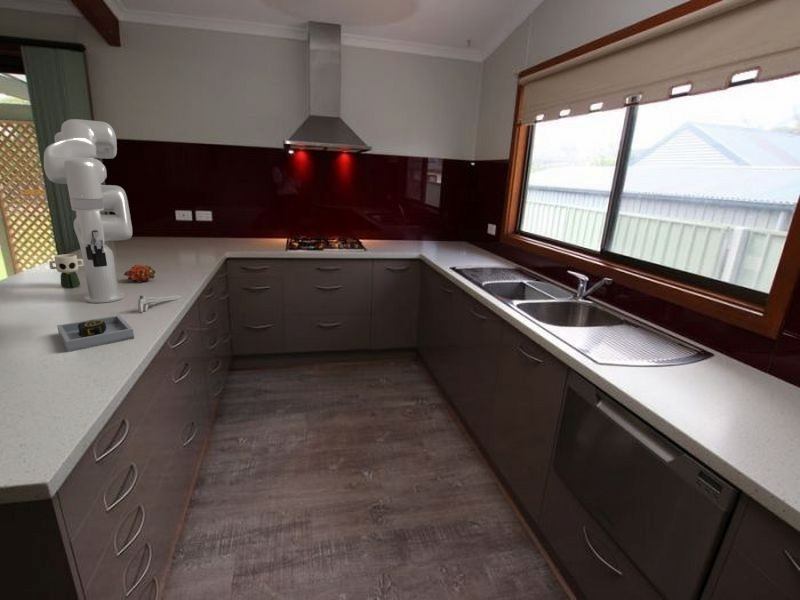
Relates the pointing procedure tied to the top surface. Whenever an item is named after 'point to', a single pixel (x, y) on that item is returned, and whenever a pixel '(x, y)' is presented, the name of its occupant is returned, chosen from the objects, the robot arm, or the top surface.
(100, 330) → the tape measure
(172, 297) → the caliper
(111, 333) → the parts tray
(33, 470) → the top surface
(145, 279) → the dragon fruit
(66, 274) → the character mug
